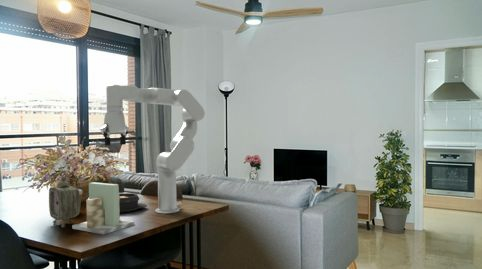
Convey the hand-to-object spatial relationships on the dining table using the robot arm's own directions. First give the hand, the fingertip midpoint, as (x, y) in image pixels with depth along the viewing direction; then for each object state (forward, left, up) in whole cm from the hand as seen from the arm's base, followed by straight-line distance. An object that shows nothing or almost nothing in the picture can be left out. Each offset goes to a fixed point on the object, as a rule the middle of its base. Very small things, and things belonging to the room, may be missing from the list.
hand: (115, 145), depth 191 cm
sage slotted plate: (+14, +7, -35) cm, 38 cm away
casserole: (-14, -10, -37) cm, 40 cm away
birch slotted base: (+14, +7, -36) cm, 40 cm away
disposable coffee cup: (+2, -30, -36) cm, 47 cm away
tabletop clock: (+20, -12, -36) cm, 43 cm away
